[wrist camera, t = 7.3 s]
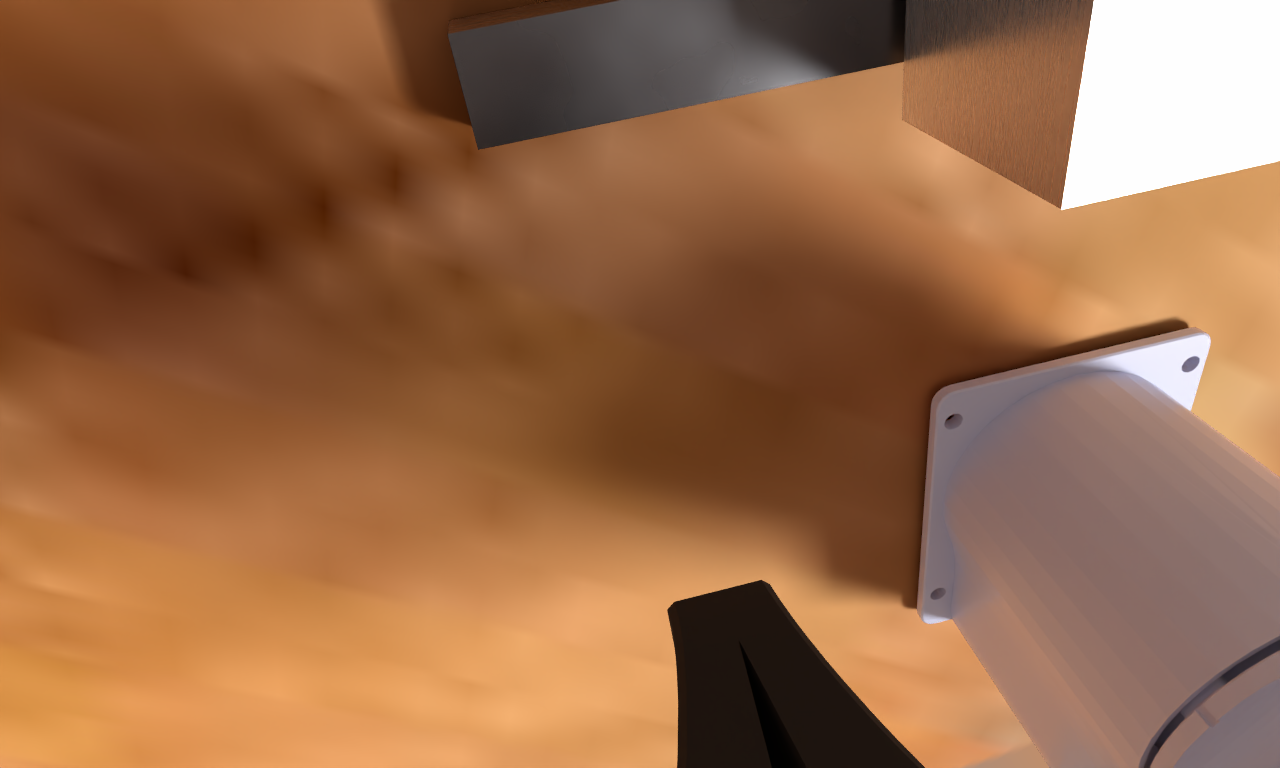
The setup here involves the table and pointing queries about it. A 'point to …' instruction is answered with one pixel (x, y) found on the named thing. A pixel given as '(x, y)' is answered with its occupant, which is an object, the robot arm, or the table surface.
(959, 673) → the table surface
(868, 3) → the bar
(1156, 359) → the robot arm
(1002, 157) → the sliding divider leg
